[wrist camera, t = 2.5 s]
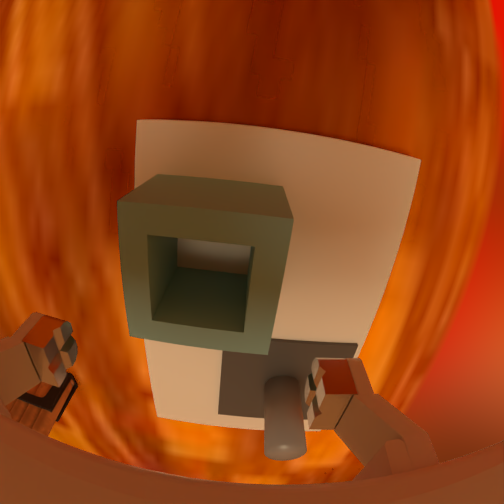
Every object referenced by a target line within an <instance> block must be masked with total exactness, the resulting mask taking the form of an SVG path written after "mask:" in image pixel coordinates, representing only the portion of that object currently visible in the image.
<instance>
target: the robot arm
mask: <svg viewBox="0 0 504 504" xmlns="http://www.w3.org/2000/svg"><path fill="white" fill-rule="evenodd" d="M72 332H73V330H72V327H71V323H69V322H68V321H65V320H61V319H58V318H54V317H51V316H48V315H44V314H41V313H38V312H35V313H32V314H31V315H30V317H29V318H28V319H27V320H26V321H25V322H24V323H23V324H22V325H21V326H20V327H19V329H18V330H17V331H16V332H15V333H14V334H13V335H12V336H11V337H5V338H3V339H0V504H504V440H503V441H501V442H499V443H497V444H494V445H492V446H489V447H486V448H484V449H481V450H479V451H476V452H473V453H470V454H468V455H465V456H462V457H459V458H456V459H452V460H449V461H446V462H443V463H439V461H438V459H437V456H436V453H435V451H434V448H433V445H432V443H431V441H430V438H429V435H428V433H427V432H426V431H424V430H423V429H422V428H420V427H419V426H418V425H417V424H415V423H414V422H413V421H411V420H410V419H409V418H407V417H406V416H405V415H404V414H403V413H401V412H400V411H399V410H398V409H396V408H395V407H394V406H393V405H391V404H390V403H389V402H388V401H386V400H385V399H384V398H383V397H381V396H380V395H379V394H374V392H373V390H372V387H371V384H370V381H369V379H368V376H367V373H366V371H365V368H364V365H363V363H362V360H361V359H360V358H345V359H344V358H315V359H314V360H313V362H312V365H311V368H312V373H311V374H310V375H308V377H307V380H306V384H305V403H306V404H307V405H308V406H309V409H308V412H307V418H308V425H309V429H318V430H332V429H335V430H334V431H335V432H336V433H337V435H338V436H339V437H340V438H341V439H342V441H343V442H344V443H345V444H346V445H347V446H348V448H349V449H350V450H351V451H352V452H353V453H354V455H355V456H356V457H357V458H358V459H359V460H360V462H361V463H362V464H363V465H364V466H365V467H364V468H363V469H362V470H361V471H360V473H359V474H358V475H357V476H356V477H355V478H354V479H353V481H346V482H335V483H323V484H303V485H264V484H243V483H231V482H220V481H211V480H203V479H196V478H190V477H184V476H178V475H172V474H167V473H162V472H157V471H153V470H148V469H144V468H140V467H136V466H132V465H128V464H124V463H121V462H117V461H114V460H111V459H107V458H104V457H101V456H98V455H95V454H92V453H89V452H86V451H83V450H80V449H78V448H75V447H72V446H70V445H67V444H65V443H62V442H60V441H57V440H55V439H52V438H50V437H48V436H46V435H43V434H41V433H39V432H37V431H35V430H32V429H30V428H28V427H26V426H24V425H22V424H20V423H18V422H16V421H14V420H13V419H12V417H11V414H10V412H9V411H8V409H7V408H6V405H7V404H9V403H10V402H12V401H13V400H15V399H16V398H18V397H19V396H21V395H22V394H24V393H25V392H27V391H28V390H30V389H31V388H33V387H34V386H36V385H37V384H39V383H40V381H42V382H44V383H47V384H50V385H53V386H56V387H60V386H61V384H62V382H63V380H64V379H65V377H66V376H67V372H66V369H67V368H69V367H71V366H73V364H74V362H75V360H76V356H77V344H76V341H75V340H74V338H73V337H72V336H71V334H72Z"/></svg>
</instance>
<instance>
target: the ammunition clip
mask: <svg viewBox="0 0 504 504" xmlns="http://www.w3.org/2000/svg"><path fill="white" fill-rule="evenodd" d="M77 387H78V385H77V384H76V382H75V380H74V378H73V376H72V375H71V373H67V376H66V377H65V379H64V380H63V382H62V384H61V386H60V387H56V386H53V385H50V384H47V383H44V382H42V381H40V383H39V384H37V385H36V386H34V387H33V388H31V389H30V390H28V391H27V392H25V393H24V394H22V395H21V396H19V397H18V398H16V399H15V400H13V401H12V402H10V403H9V404H7V405H6V408H7V409H8V411H9V412H10V414H11V417H12V419H13V420H14V421H16V422H18V423H20V424H22V425H24V426H26V427H28V428H30V429H32V430H35V431H37V432H39V433H41V434H43V435H46V436H48V435H49V433H50V431H51V429H52V427H53V425H54V423H55V421H57V422H58V421H59V419H60V417H61V416H62V414H63V412H64V410H65V408H66V406H67V405H68V403H69V401H70V399H71V397H72V396H73V394H74V392H75V390H76V389H77Z"/></svg>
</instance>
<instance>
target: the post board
mask: <svg viewBox="0 0 504 504" xmlns="http://www.w3.org/2000/svg"><path fill="white" fill-rule="evenodd" d="M420 164H421V160H420V159H417V158H414V157H412V156H409V155H405V154H401V153H397V152H394V151H390V150H386V149H382V148H378V147H374V146H369V145H365V144H360V143H356V142H351V141H347V140H342V139H337V138H332V137H326V136H321V135H315V134H309V133H303V132H297V131H291V130H284V129H277V128H269V127H261V126H253V125H243V124H233V123H222V122H209V121H192V120H168V119H142V120H137V127H136V145H135V183H134V189H135V188H137V187H138V186H140V185H141V184H143V183H144V182H146V181H148V180H149V179H151V178H152V177H154V176H155V175H157V174H165V175H179V176H192V177H203V178H214V179H224V180H234V181H243V182H252V183H260V184H268V185H276V186H283V188H284V191H285V194H286V197H287V200H288V203H289V206H290V209H291V212H292V215H293V218H294V222H293V228H292V233H291V239H290V245H289V250H288V256H287V261H286V266H285V272H284V277H283V282H282V287H281V293H280V298H279V303H278V308H277V313H276V318H275V323H274V327H273V332H272V337H271V342H270V347H269V351H268V355H262V354H251V353H241V352H231V351H222V350H214V349H206V348H199V347H192V346H185V345H178V344H172V343H165V342H159V341H154V340H148V339H144V342H145V349H146V356H147V363H148V369H149V375H150V381H151V387H152V392H153V397H154V403H155V408H156V412H157V417H162V418H167V419H173V420H179V421H185V422H191V423H198V424H205V425H213V426H222V427H231V428H242V429H256V430H264V449H265V455H266V456H267V457H268V458H270V459H274V460H292V459H296V458H299V457H301V456H303V455H304V454H305V453H306V451H307V448H306V439H305V431H321V430H318V429H309V425H308V418H307V412H308V409H309V406H308V405H307V404H306V403H305V384H306V380H307V377H308V375H310V374H311V373H312V368H311V365H312V362H313V360H314V359H315V358H344V359H345V358H357V357H358V355H359V353H360V351H361V348H362V346H363V344H364V341H365V339H366V337H367V334H368V332H369V329H370V327H371V325H372V322H373V320H374V317H375V315H376V312H377V309H378V307H379V304H380V302H381V299H382V296H383V293H384V291H385V288H386V285H387V282H388V279H389V277H390V274H391V271H392V268H393V265H394V262H395V258H396V255H397V252H398V249H399V246H400V242H401V239H402V236H403V232H404V229H405V225H406V222H407V218H408V214H409V211H410V207H411V203H412V199H413V195H414V191H415V186H416V182H417V178H418V173H419V168H420ZM250 250H251V246H245V245H236V244H227V243H218V242H209V241H200V240H191V239H182V238H178V242H177V267H186V268H194V269H202V270H210V271H219V272H228V273H236V274H245V275H247V274H248V266H249V258H250Z"/></svg>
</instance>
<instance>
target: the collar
mask: <svg viewBox="0 0 504 504" xmlns="http://www.w3.org/2000/svg"><path fill="white" fill-rule="evenodd" d="M117 215H118V235H119V250H120V262H121V273H122V282H123V291H124V299H125V307H126V314H127V321H128V328H129V334H130V336H132V337H137V338H142V339H148V340H154V341H159V342H165V343H172V344H178V345H185V346H192V347H199V348H206V349H214V350H222V351H231V352H241V353H251V354H262V355H268V351H269V347H270V342H271V337H272V332H273V327H274V323H275V318H276V313H277V308H278V303H279V298H280V293H281V287H282V282H283V277H284V272H285V266H286V261H287V256H288V250H289V245H290V239H291V233H292V228H293V222H294V218H293V215H292V212H291V209H290V206H289V203H288V200H287V197H286V194H285V191H284V188H283V186H276V185H268V184H260V183H252V182H243V181H234V180H224V179H214V178H203V177H192V176H179V175H165V174H157V175H155V176H154V177H152V178H151V179H149V180H148V181H146V182H144V183H143V184H141V185H140V186H138V187H137V188H135V189H134V190H132V191H131V192H130V193H128V194H127V195H125V196H124V197H122V198H121V199H119V200H118V201H117ZM178 238H182V239H191V240H200V241H209V242H218V243H227V244H236V245H245V246H251V250H250V258H249V266H248V274H247V275H245V274H236V273H228V272H219V271H210V270H202V269H194V268H186V267H177V242H178Z"/></svg>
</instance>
